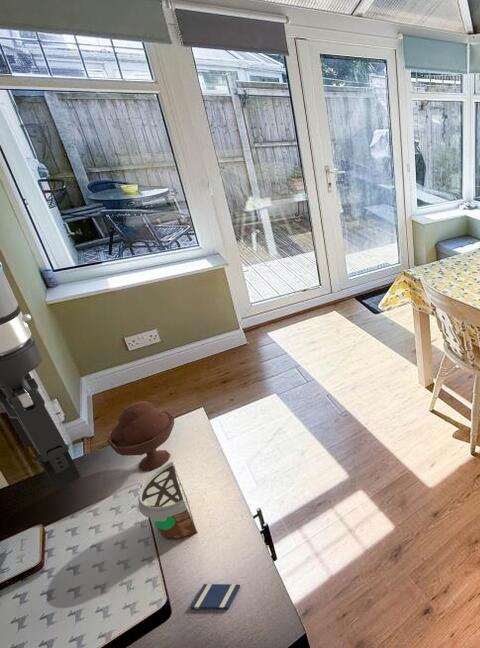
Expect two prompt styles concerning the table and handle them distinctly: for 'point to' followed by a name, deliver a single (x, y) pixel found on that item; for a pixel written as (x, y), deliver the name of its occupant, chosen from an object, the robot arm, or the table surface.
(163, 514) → the food container
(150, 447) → the ice cream bowl
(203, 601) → the tea towel
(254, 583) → the table surface
